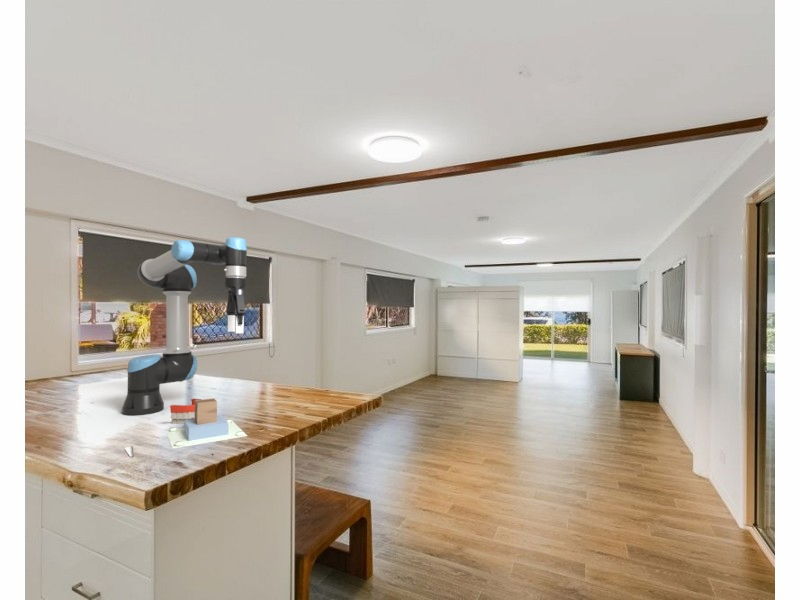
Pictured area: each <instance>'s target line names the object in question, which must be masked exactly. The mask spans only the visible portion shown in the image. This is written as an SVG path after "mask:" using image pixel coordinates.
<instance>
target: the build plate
mask: <svg viewBox="0 0 800 600" xmlns="http://www.w3.org/2000/svg"><path fill="white" fill-rule="evenodd" d="M225 420H226V421H227V422H228V423H229V424H228V435H223V436H217V437H210V438H204V439H198V440H192V441H189V440H188V439H187V437H186V435H185V433H184V427H182V428H178V427H177V426H173V427H169V428H168V430H165V432H166V434H167V437H168V440H169V442H170V445H171V448H172V449H178V448H185V447H190V446H195V445H201V444H208V443H214V442H220V441H226V440H232V439H237V438H243V437H248V435H247V434H246V433H245V432H244V431H243V430H242V429H241V428H240V427H239V426H238V424H236V423H235V422H234V421H233V420H232V419H225Z"/></svg>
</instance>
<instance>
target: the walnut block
mask: <svg viewBox="0 0 800 600" xmlns="http://www.w3.org/2000/svg"><path fill="white" fill-rule="evenodd" d="M217 416H218V401H217V400H216V399H215V398H212V397H211V398H207V399H206V398H205V399H204V398H203V399H202V400H195V422H196V424H197V425H200V424H207V423H214V422H217Z"/></svg>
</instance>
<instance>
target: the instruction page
mask: <svg viewBox="0 0 800 600" xmlns="http://www.w3.org/2000/svg"><path fill="white" fill-rule="evenodd" d="M133 447H134V446H133V445H132V446H127V447H124V448H123V449H124V451H125V452H126V453H127V454H128V456H129V457H130V458H133V457H134V455H135V454H134V448H133Z"/></svg>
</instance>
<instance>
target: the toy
mask: <svg viewBox="0 0 800 600" xmlns="http://www.w3.org/2000/svg"><path fill="white" fill-rule="evenodd" d="M195 400H203V399H200V398H190V402H191V405H190V404H189V405H184V404H183V405H182V404H181V405H177V404H171V405H170V406H169V407H170V413H171V414H170V419H171V424H172V425H184V420H189V419H195Z"/></svg>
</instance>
